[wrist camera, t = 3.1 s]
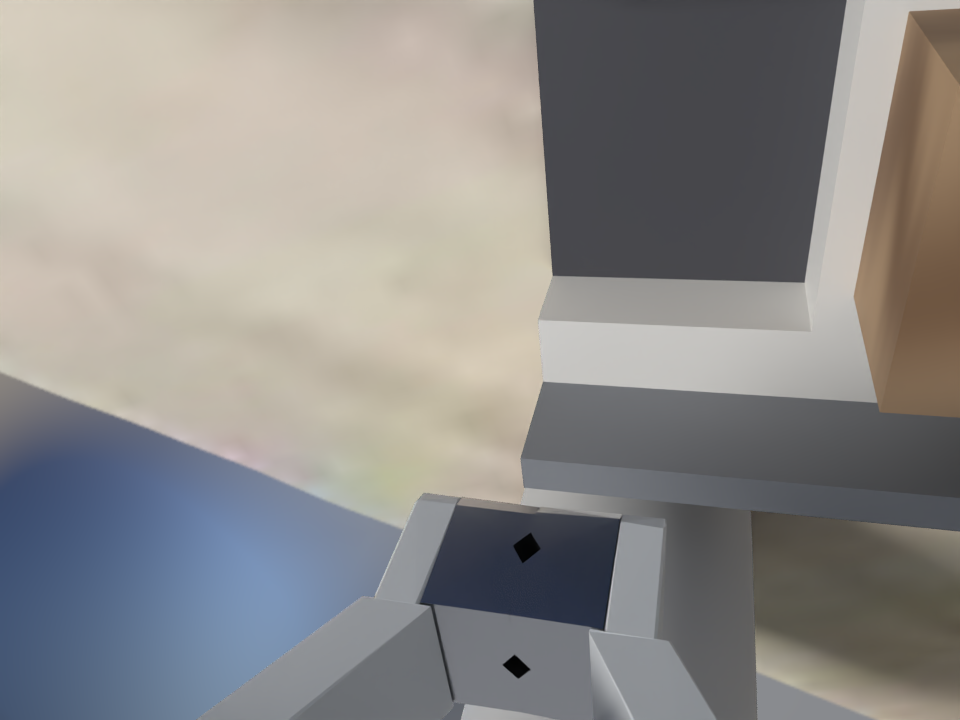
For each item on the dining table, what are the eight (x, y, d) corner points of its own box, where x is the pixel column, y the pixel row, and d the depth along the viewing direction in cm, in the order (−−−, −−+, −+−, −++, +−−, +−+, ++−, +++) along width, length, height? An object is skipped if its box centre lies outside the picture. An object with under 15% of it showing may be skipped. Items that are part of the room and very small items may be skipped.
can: (724, 402, 23) (721, 827, 14) (772, 567, 27) (794, 990, 18) (496, 433, 26) (371, 799, 17) (566, 578, 30) (495, 943, 21)
